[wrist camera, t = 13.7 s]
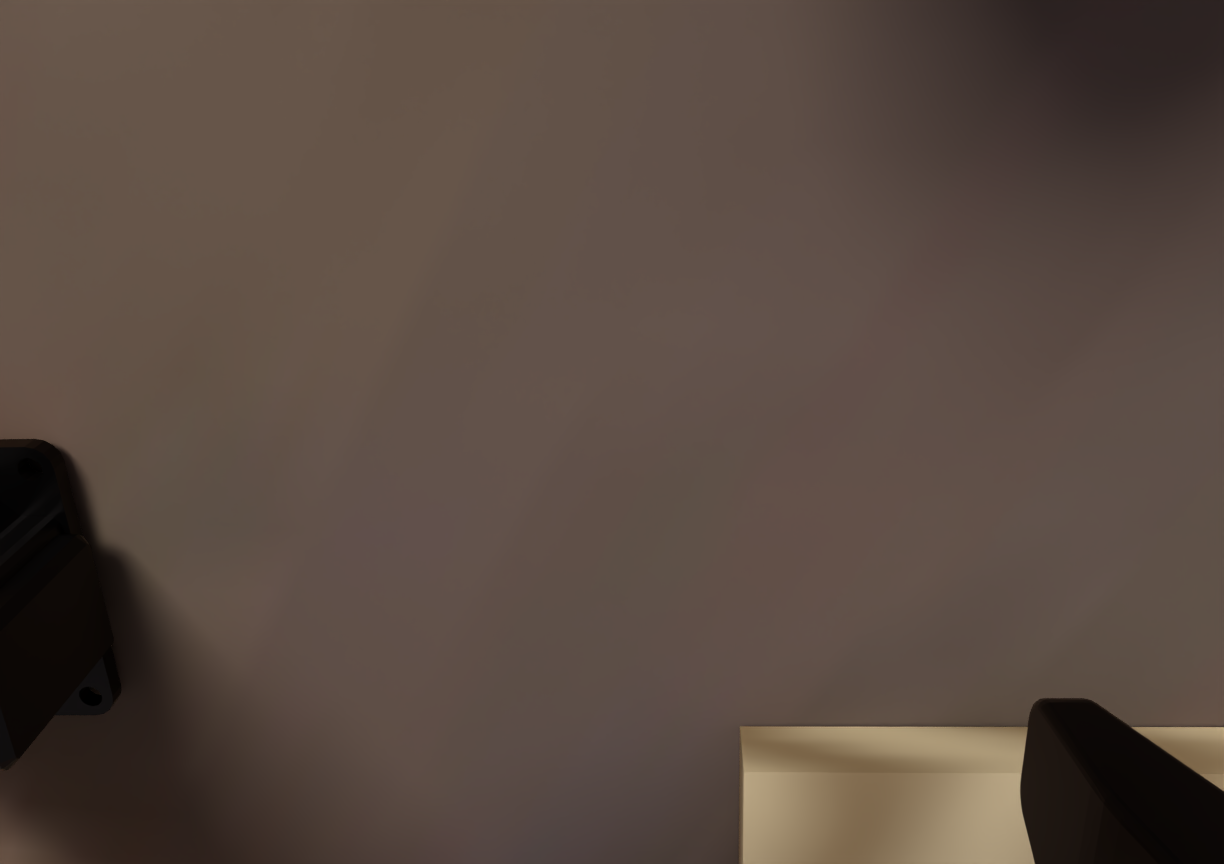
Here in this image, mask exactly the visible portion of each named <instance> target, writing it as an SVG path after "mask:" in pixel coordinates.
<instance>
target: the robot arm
mask: <svg viewBox="0 0 1224 864" xmlns="http://www.w3.org/2000/svg"><path fill="white" fill-rule="evenodd" d="M28 458H29V459H33V460H35V461H36V462H38V463H39V464H40V466H41V468H42V470H43V471H42V473H41V472H37V471H35V470H34V469H33V468H31V466H30V464H29V462H28ZM112 644H113V635H112V631H111V627H110V623H109V619H108V615H107V611H106V607H105V603H104V599H103V595H102V591H101V587H100V583H99V579H98V575H97V571H96V567H95V563H94V559H93V555H92V551H91V547H90V545H89V544H88V542H87V541H86V540H85V538H84V537H83V534H82V530H81V526H80V522H79V518H78V514H77V510H76V506H75V502H74V498H73V494H72V490H71V486H70V482H69V478H68V474H67V471H66V467H65V463H64V460H63V458H62V456H61V453H60V452H59V451H58V450H57V449H56V448H55V447H54V446H53V445H51V444H50V443H48V442H46V441H43V440H37V439H3V440H0V770H8V769H9V768H11V767H12V766H13V765H14V764H15V763H16V761H17V760H18V759H19V758H20V757H21V756H22V754H23V753H24V752H25V751H26V750H27V748H28V747H29V746H30V745H31V743H32V742H33V741H34V740H35V739H36V737H37V736H38V735H39V734H40V732H41V731H42V730H43V729H44V727H45V726H46V725H47V724H48V723H49V721H50V720H51V719H52V718H53V716H54V715H99V714H104V713H105V712H107V711H108V710H110V708H111V707H112V706H113V704H114V703H115V702H116V700H117V699H118V697H119V696H120V694H121V684H120V680H119V676H118V672H117V668H116V664H115V660H114V656H113V652H112V648H111V645H112ZM89 687H92V688H95V689H96V690H98V691H99V692H100V694H101V695H99V694H95V693H94V692H92V691H91V690H90V688H89ZM1020 800H1021V808H1022V814H1023V818H1024V822H1025V826H1026V830H1027V834H1028V838H1029V842H1030V846H1031V850H1032V854H1033V858H1034V862H1035V864H1224V791H1223V790H1221V789H1220V788H1219V787H1217V786H1216V785H1214V784H1213V783H1211V782H1210V781H1208V780H1207V779H1205V778H1204V777H1203V776H1201V775H1200V774H1198V773H1197V772H1195V771H1194V770H1192V769H1191V768H1190V767H1188V766H1187V765H1185V764H1184V763H1182V762H1181V761H1179V760H1178V759H1177V758H1175V757H1174V756H1172V755H1171V754H1169V753H1168V752H1166V751H1165V750H1163V749H1162V748H1161V747H1159V746H1158V745H1156V744H1155V743H1153V742H1152V741H1150V740H1149V739H1148V738H1146V737H1145V736H1143V735H1142V734H1140V733H1139V732H1137V731H1136V730H1134V729H1133V728H1132V727H1130V726H1129V725H1127V724H1126V723H1124V722H1123V721H1121V720H1120V719H1119V718H1117V717H1116V716H1114V715H1113V714H1111V713H1110V712H1108V711H1107V710H1106V709H1104V708H1103V707H1101V706H1100V705H1098V704H1097V703H1095V702H1093V701H1091V700H1088V699H1084V698H1043V699H1039V700H1038V701H1037V702H1035V703H1034V705H1033V707H1032V709H1031V711H1030V715H1029V721H1028V729H1027V736H1026V743H1025V751H1024V758H1023V765H1022V773H1021V780H1020Z"/></svg>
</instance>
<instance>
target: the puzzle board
mask: <svg viewBox="0 0 1224 864" xmlns="http://www.w3.org/2000/svg"><path fill="white" fill-rule="evenodd" d="M1132 728H1133V729H1134V730H1136V731H1137V732H1139V733H1140V734H1142V735H1143V736H1145V737H1146V738H1148V739H1149V740H1150V741H1152V742H1153V743H1155V744H1156V745H1158V746H1159V747H1161V748H1162V749H1163V750H1165V751H1166V752H1168V753H1169V754H1171V755H1172V756H1174V757H1175V758H1177V759H1178V760H1179V761H1181V762H1182V763H1184V764H1185V765H1187V766H1188V767H1190V768H1191V769H1192V770H1194V771H1195V772H1197V773H1198V774H1200V775H1201V776H1203V777H1204V778H1205V779H1207V780H1208V781H1210V782H1211V783H1213V784H1214V785H1216V786H1217V787H1219V788H1220V789H1221V790H1223V791H1224V727H1132ZM1027 729H1028V727H740V774H739V864H1035V862H1034V858H1033V854H1032V850H1031V846H1030V842H1029V838H1028V834H1027V830H1026V826H1025V822H1024V818H1023V814H1022V808H1021V800H1020V780H1021V773H1022V765H1023V758H1024V751H1025V743H1026V736H1027Z"/></svg>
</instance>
